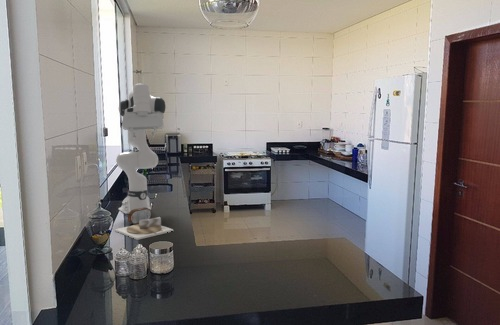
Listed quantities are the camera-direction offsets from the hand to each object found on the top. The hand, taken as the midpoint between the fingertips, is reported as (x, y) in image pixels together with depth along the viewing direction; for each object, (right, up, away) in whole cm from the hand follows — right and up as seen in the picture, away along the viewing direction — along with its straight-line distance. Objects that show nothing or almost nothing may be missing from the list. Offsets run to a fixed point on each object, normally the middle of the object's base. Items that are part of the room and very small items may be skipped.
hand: (143, 136), depth 196 cm
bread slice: (-10, -48, +30) cm, 58 cm away
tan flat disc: (-3, -49, +13) cm, 51 cm away
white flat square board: (-3, -50, +13) cm, 52 cm away
